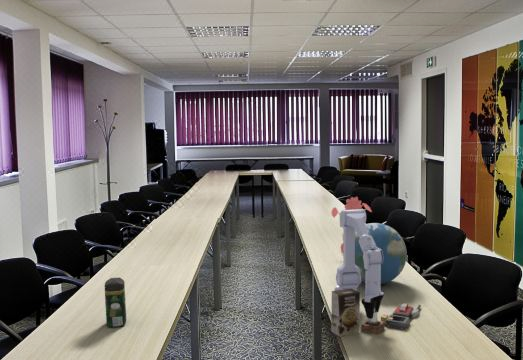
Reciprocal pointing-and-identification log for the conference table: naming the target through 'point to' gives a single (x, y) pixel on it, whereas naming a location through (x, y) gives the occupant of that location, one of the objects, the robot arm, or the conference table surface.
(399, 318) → the block
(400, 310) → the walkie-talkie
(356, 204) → the figurine
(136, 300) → the conference table surface
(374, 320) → the silver knobbed cylinder
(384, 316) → the key
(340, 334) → the coffee box
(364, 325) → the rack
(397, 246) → the globe
